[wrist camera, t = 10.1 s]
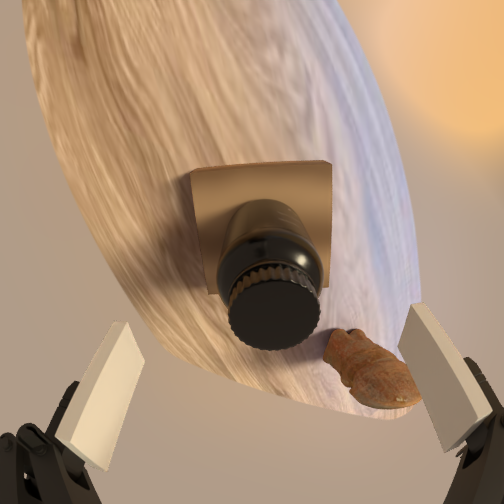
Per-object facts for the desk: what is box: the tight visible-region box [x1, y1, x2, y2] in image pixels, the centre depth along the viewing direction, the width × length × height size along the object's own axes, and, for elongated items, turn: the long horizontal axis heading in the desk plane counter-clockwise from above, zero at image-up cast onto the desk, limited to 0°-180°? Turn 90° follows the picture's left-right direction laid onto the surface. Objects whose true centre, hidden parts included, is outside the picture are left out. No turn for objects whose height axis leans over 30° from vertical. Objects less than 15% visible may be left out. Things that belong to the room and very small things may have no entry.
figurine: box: [323, 329, 422, 409], centre depth 26 cm, size 8×8×15 cm
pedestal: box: [190, 160, 332, 295], centre depth 26 cm, size 12×12×3 cm
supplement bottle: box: [216, 199, 324, 351], centre depth 19 cm, size 7×7×12 cm
